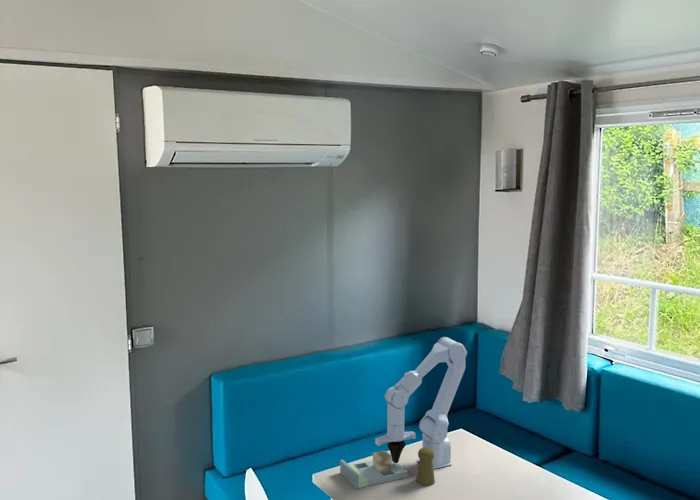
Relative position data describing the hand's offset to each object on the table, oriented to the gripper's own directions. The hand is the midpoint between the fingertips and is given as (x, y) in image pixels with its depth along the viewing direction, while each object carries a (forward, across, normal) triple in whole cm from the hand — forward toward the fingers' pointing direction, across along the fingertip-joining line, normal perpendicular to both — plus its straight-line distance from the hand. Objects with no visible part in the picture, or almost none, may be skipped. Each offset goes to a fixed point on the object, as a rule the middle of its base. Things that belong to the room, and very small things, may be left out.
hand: (395, 461), depth 209 cm
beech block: (+1, +5, 0) cm, 5 cm away
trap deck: (+3, +8, 0) cm, 8 cm away
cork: (+3, -5, +11) cm, 13 cm away
